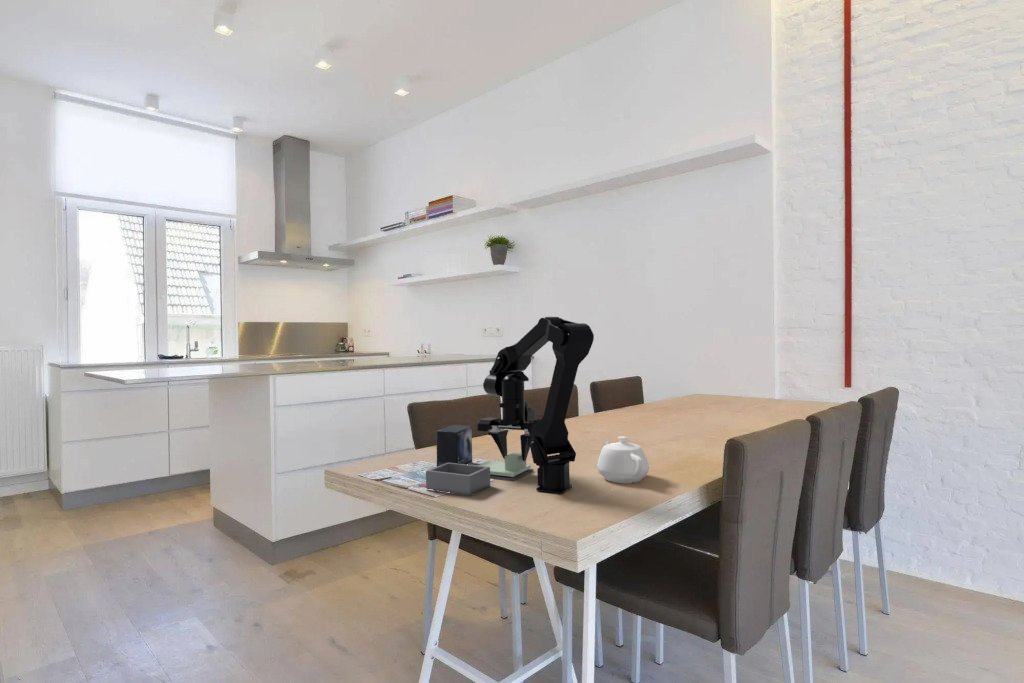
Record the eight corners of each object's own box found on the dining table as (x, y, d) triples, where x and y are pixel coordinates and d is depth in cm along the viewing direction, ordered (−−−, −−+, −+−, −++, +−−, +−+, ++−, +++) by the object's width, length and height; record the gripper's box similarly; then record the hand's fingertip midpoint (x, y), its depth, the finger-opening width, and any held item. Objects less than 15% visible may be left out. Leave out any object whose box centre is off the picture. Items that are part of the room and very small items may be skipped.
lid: (530, 469, 148) (530, 451, 148) (513, 478, 139) (512, 459, 139) (488, 465, 154) (488, 447, 154) (469, 473, 145) (469, 455, 145)
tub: (490, 485, 135) (490, 467, 134) (470, 496, 127) (469, 476, 127) (448, 480, 140) (447, 462, 140) (426, 490, 132) (425, 470, 132)
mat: (533, 470, 148) (533, 469, 148) (513, 481, 138) (513, 479, 138) (487, 465, 155) (487, 464, 155) (465, 475, 145) (465, 473, 145)
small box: (458, 471, 149) (457, 431, 149) (435, 470, 151) (434, 430, 151) (473, 462, 159) (472, 424, 159) (452, 461, 161) (451, 424, 161)
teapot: (583, 470, 148) (582, 431, 147) (627, 466, 151) (626, 428, 150) (616, 491, 128) (615, 446, 128) (665, 486, 131) (665, 442, 131)
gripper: (559, 396, 147) (561, 456, 147) (497, 393, 156) (498, 450, 156) (541, 401, 137) (543, 465, 137) (475, 398, 146) (477, 459, 146)
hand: (514, 459), depth 144 cm, fingers open, 5 cm apart
